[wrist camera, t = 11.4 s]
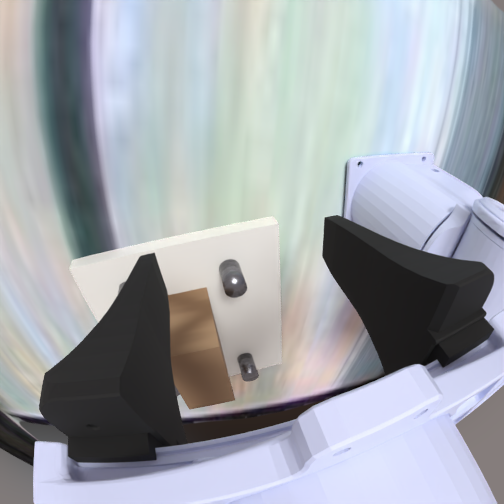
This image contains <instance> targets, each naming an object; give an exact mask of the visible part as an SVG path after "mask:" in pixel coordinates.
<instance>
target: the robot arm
mask: <svg viewBox="0 0 504 504" xmlns="http://www.w3.org/2000/svg"><path fill="white" fill-rule="evenodd" d="M422 157H423V159H422ZM358 162H361V163H360V165H359V166H358ZM433 164H434V155H433V154H432V153H430V152H425V153H405V154H389V155H375V156H363V157H353V158H350V159H349V160H348V163H347V177H346V193H345V207H344V218H343V217H341V216H338V215H336V216H330V217H325V221H324V239H323V255H322V256H323V258H324V260H325V262H326V265H327V267H328V268H329V270H330V272H331V274H332V276H333V277H334V279H335V280H336V282H337V283H338V284H339V286H340V287H341V289H342V290H343V292H344V293H345V295H346V296H347V297H348V299H349V300H350V302H351V303H352V305H353V306H354V308H355V309H356V311H357V312H358V314H359V316H360V317H361V319H362V321H363V323H364V325H365V327H366V329H367V331H368V333H369V335H370V337H371V339H372V342H373V344H374V346H375V348H376V351H377V353H378V356H379V358H380V361H381V363H382V366H383V368H384V371H385V374H386V376H385V377H383V378H380V379H378V380H376V381H373V382H371V383H369V384H366V385H364V386H361V387H359V388H356V389H354V390H351V391H349V392H346V393H343V394H341V395H338V396H335V397H332V398H330V399H328V400H326V401H324V402H321V403H319V404H317V405H314V406H312V407H311V408H310V409H308V410H307V411H305V412H304V413H302V414H301V415H299V417H298V418H297V419H295V420H292V421H289V422H285V423H282V424H278V425H274V426H271V427H267V428H263V429H259V430H255V431H251V432H247V433H243V434H238V435H234V436H229V437H224V438H220V439H214V440H208V441H203V442H197V443H190V444H188V443H187V440H186V436H185V432H184V428H183V424H182V420H181V415H180V411H179V406H178V401H177V396H176V391H175V385H174V379H173V373H172V366H171V349H170V308H169V300H168V293H167V288H166V286H165V283H164V280H163V277H162V274H161V271H160V268H159V265H158V262H157V259H156V255H155V253H150V254H146V255H141V256H140V257H139V259H138V260H137V262H136V264H135V266H134V268H133V269H132V271H131V273H130V275H129V277H128V279H127V280H126V282H125V284H124V286H123V287H122V289H121V291H120V292H119V294H118V296H117V297H116V299H115V300H114V302H113V304H112V305H111V307H110V308H109V309H108V311H107V312H106V314H105V315H104V316H103V317H102V319H101V320H100V321H99V323H98V324H97V325H96V326H95V327H94V328H93V330H92V331H91V332H90V333H89V334H88V335H87V336H86V337H85V339H84V340H83V341H82V342H81V343H80V344H79V345H78V346H77V347H76V348H75V349H74V350H73V351H71V352H70V353H69V354H68V355H67V356H66V357H65V358H64V359H63V360H61V361H60V362H59V363H58V364H56V365H55V366H54V367H53V368H51V369H50V370H49V371H48V372H46V373H45V375H44V380H43V385H42V391H41V397H40V404H39V410H40V412H41V414H42V415H43V417H44V418H45V419H46V420H47V421H48V422H50V423H51V424H52V425H53V426H55V427H56V428H57V429H59V430H60V431H61V432H63V433H64V434H66V435H67V436H68V445H67V444H63V443H59V442H44V441H43V442H42V441H36V442H35V451H34V473H33V496H34V497H33V499H34V504H497V502H496V500H495V498H494V496H493V494H492V492H491V490H490V488H489V486H488V484H487V482H486V480H485V478H484V476H483V474H482V472H481V470H480V468H479V467H478V465H477V463H476V461H475V459H474V457H473V456H472V454H471V452H470V451H469V448H468V447H467V445H466V443H465V441H464V440H463V438H462V436H461V435H460V433H459V431H458V429H457V428H456V426H455V424H456V423H458V422H459V421H460V420H462V419H463V418H464V417H466V416H467V415H468V414H469V413H471V412H472V411H473V410H475V409H476V408H477V407H478V406H480V405H481V404H482V403H483V402H484V401H485V400H487V399H488V398H489V397H490V396H491V395H493V394H494V393H495V392H496V391H497V390H498V389H499V388H501V387H502V386H503V385H504V205H503V204H501V203H500V202H498V201H496V200H494V199H491V198H489V197H484V198H483V197H482V196H481V195H480V193H479V192H478V191H476V190H475V189H474V188H472V187H470V186H469V185H467V184H466V183H464V182H462V181H461V180H459V179H458V178H456V177H454V176H453V175H451V174H449V173H447V172H446V171H444V170H442V169H440V168H439V167H437V166H435V165H433Z"/></svg>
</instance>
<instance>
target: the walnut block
mask: <svg viewBox="0 0 504 504" xmlns="http://www.w3.org/2000/svg"><path fill="white" fill-rule="evenodd" d="M168 300H169V308H170V349H171V366H172V373H173V379H174V384H175V386H176V388H177V389H178V391H179V393H180V394H181V396H182V398H183V399H184V401H185V403H186V404H187V406H188V408H189V409H194V408H199V407H205V406H210V405H215V404H220V403H224V402H229V401H233V400H235V398H234V394H233V390H232V386H231V383H230V379H229V375H228V371H227V366H226V362H225V358H224V354H223V350H222V346H221V342H220V338H219V335H218V331H217V327H216V323H215V319H214V315H213V311H212V307H211V303H210V299H209V295H208V291H207V287H205V288H200V289H195V290H191V291H186V292H181V293H176V294H172V295H168Z"/></svg>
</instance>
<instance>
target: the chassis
mask: <svg viewBox="0 0 504 504" xmlns="http://www.w3.org/2000/svg"><path fill="white" fill-rule="evenodd" d="M150 253H155V255H156V259H157V262H158V265H159V268H160V271H161V274H162V277H163V280H164V283H165V286H166V288H167V293H168V295H172V294H176V293H181V292H186V291H191V290H195V289H200V288H205V287H207V291H208V295H209V299H210V303H211V307H212V311H213V315H214V319H215V323H216V327H217V331H218V335H219V338H220V342H221V346H222V350H223V354H224V358H225V362H226V366H227V371H228V375H229V376H234V375H238V374H242V378H243V380H244V381H253V380H255V379H256V378H258V376H259V375H258V372H257V370H259V369H262V368H266V367H270V366H274V365H277V364H281V363H282V324H281V282H280V251H279V224H278V222H277V221H276V219H275V218H274V216H271V217H265V218H260V219H255V220H250V221H245V222H240V223H235V224H230V225H225V226H220V227H215V228H210V229H206V230H201V231H196V232H191V233H187V234H182V235H177V236H173V237H168V238H164V239H159V240H155V241H150V242H146V243H141V244H137V245H133V246H128V247H124V248H120V249H115V250H111V251H107V252H103V253H98V254H94V255H90V256H86V257H82V258H78V259H74V260H72V263H71V265H70V268H69V270H70V272H71V274H72V276H73V278H74V280H75V282H76V284H77V286H78V287H79V289H80V291H81V293H82V295H83V297H84V299H85V300H86V302H87V304H88V306H89V308H90V309H91V311H92V313H93V315H94V316H95V318H96V320H97V321H98V323H99V321H100V320H101V319H102V317H103V316H104V315H105V314H106V312H107V311H108V309H109V308H110V307H111V305H112V304H113V302H114V300H115V299H116V297H117V296H118V294H119V292H120V291H121V289H122V287H123V286H124V284H125V282H126V280H127V279H128V277H129V275H130V273H131V271H132V269H133V268H134V266H135V264H136V262H137V260H138V259H139V257H140V256H141V255H146V254H150ZM174 385H175V384H174ZM175 391H176V396H178V395H180V393H179V391H178V389H177V388H176V386H175Z"/></svg>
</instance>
